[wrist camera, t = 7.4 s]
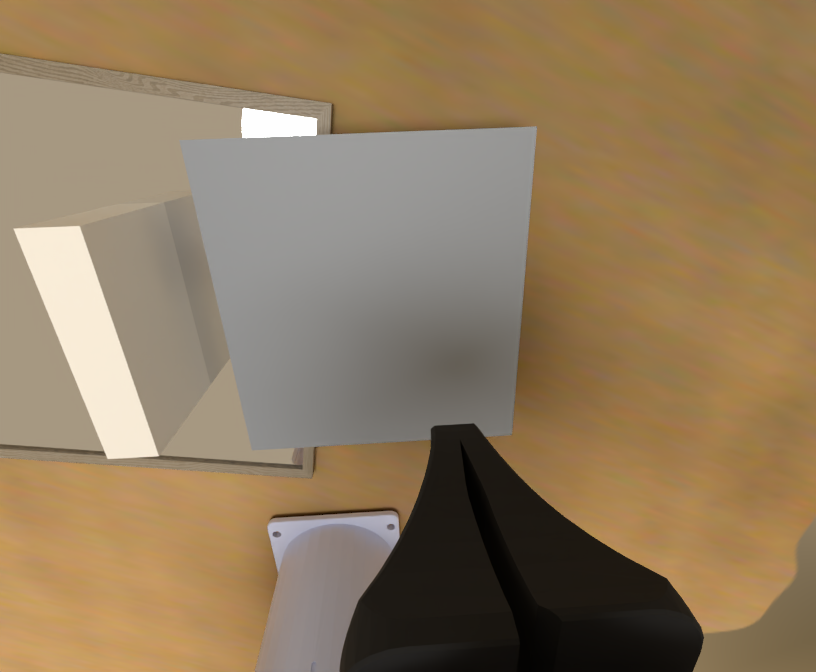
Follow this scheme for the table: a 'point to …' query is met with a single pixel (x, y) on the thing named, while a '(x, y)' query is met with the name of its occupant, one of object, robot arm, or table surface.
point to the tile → (121, 321)
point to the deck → (368, 278)
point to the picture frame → (104, 186)
